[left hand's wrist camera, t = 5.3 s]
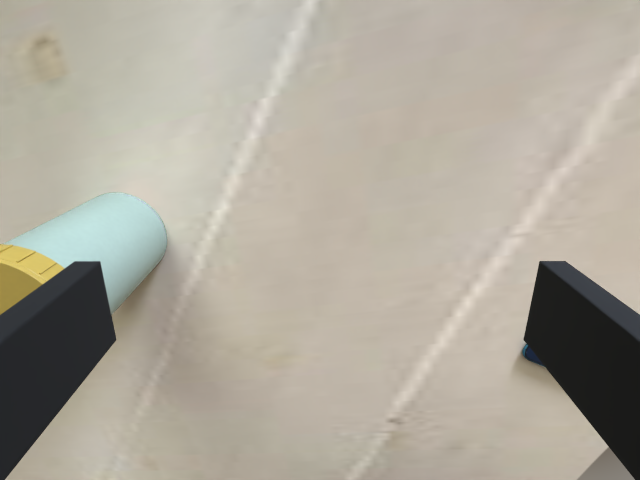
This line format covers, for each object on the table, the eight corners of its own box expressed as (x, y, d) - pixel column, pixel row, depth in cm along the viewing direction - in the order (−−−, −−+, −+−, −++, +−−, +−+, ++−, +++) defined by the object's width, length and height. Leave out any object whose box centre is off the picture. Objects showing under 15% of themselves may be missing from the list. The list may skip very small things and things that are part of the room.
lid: (119, 288, 27) (102, 305, 25) (71, 397, 30) (52, 421, 28) (-41, 214, 25) (-74, 226, 23) (-75, 338, 28) (-106, 359, 26)
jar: (180, 219, 41) (91, 305, 25) (148, 288, 44) (49, 405, 28) (95, 176, 40) (-58, 238, 24) (67, 250, 42) (-87, 351, 26)
